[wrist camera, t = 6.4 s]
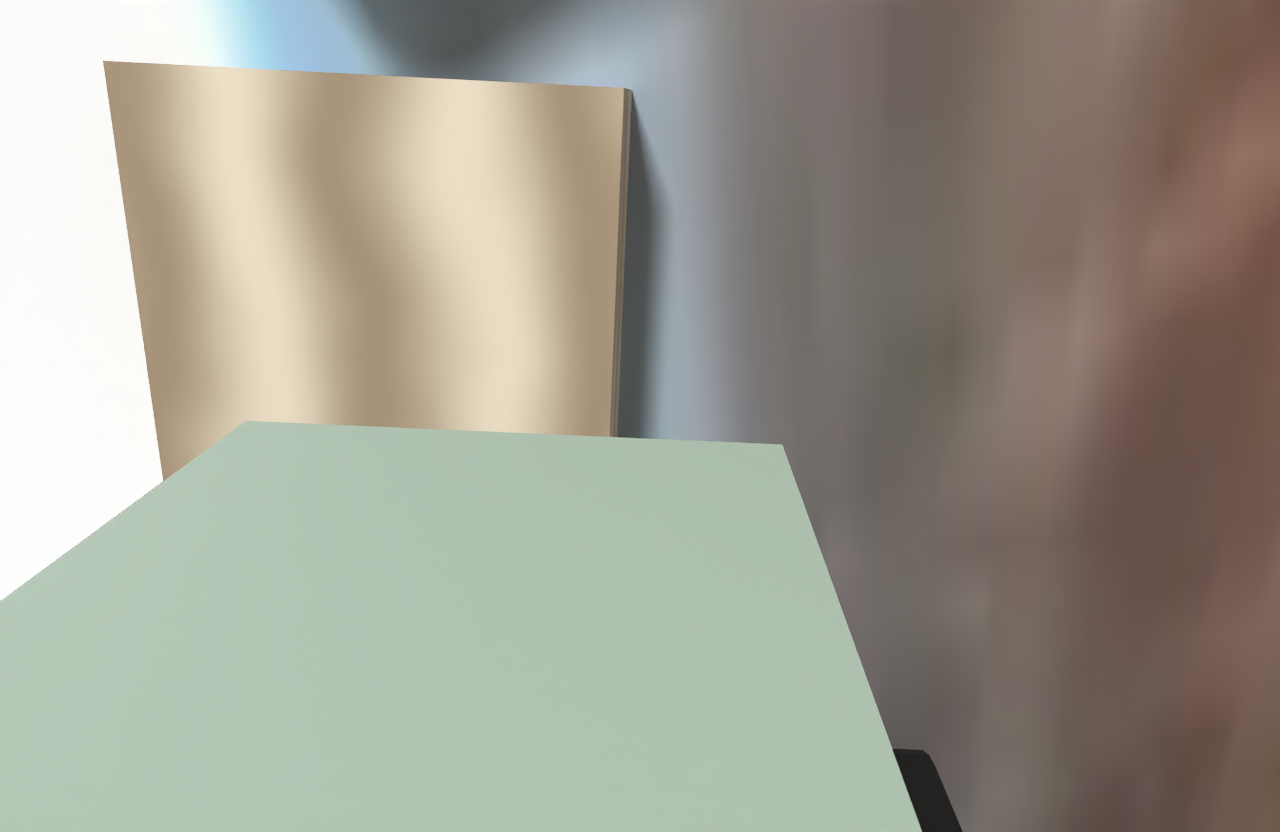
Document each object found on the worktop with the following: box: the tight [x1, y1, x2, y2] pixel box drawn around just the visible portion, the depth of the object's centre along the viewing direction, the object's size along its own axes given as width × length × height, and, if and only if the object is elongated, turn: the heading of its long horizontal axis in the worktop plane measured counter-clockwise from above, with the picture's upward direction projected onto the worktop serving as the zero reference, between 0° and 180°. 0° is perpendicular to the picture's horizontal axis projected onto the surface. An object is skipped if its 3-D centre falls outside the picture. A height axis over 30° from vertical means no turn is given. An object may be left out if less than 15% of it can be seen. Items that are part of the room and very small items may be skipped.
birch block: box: [103, 61, 632, 481], centre depth 28 cm, size 14×14×4 cm
